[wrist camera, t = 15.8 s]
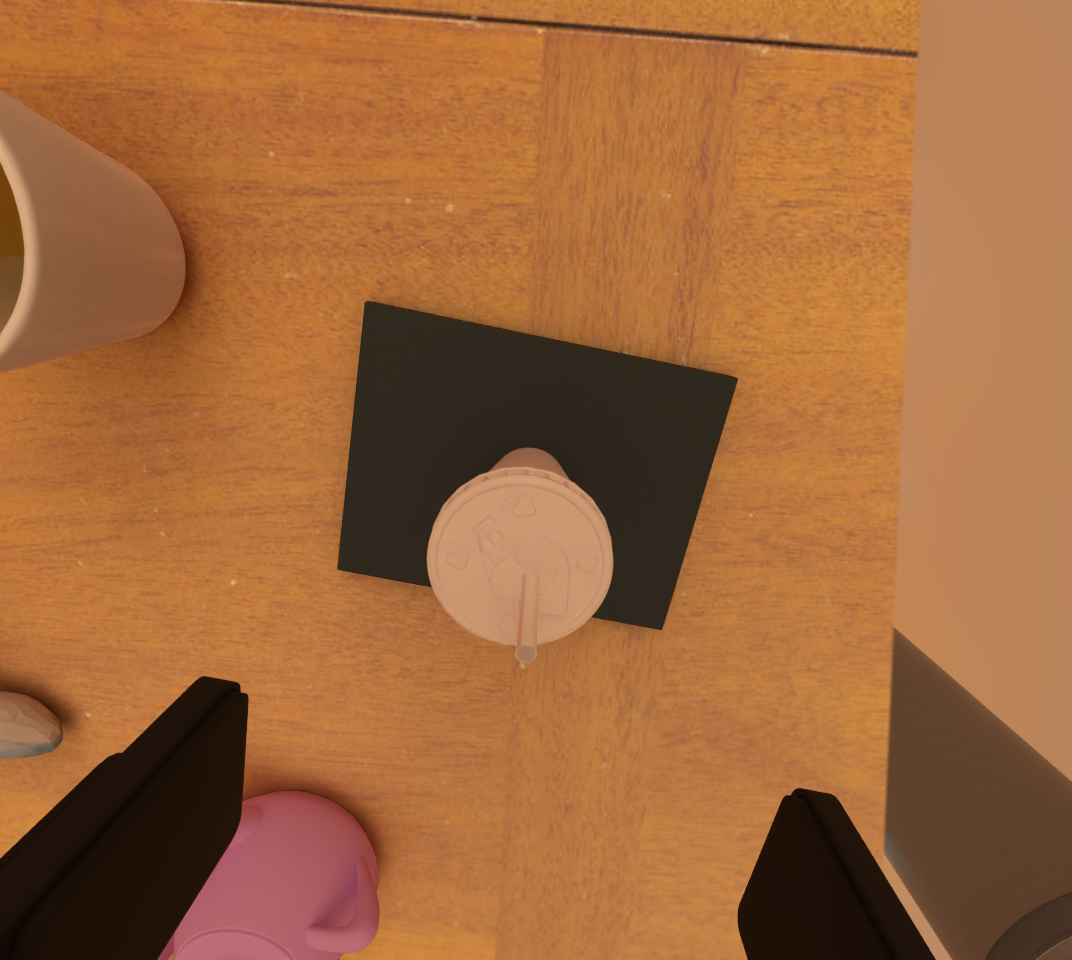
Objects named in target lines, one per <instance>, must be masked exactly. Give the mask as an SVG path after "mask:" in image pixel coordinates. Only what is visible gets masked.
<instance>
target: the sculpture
mask: <svg viewBox="0 0 1072 960" xmlns="http://www.w3.org/2000/svg"><path fill="white" fill-rule="evenodd" d="M62 740H63V733H62V728H61V724H60V721H59V720H58V718H57V717H56V716H55V715H54V714H53V713H52V712H51V711H50V710H49V709H47V708H46V707H45V706H44V705H43V704H42V703H40V702H39V701H37V700H35V699H34V698H32V697H30V696H27V695H23V694H18V693H13V692H5V691H0V758H7V759H18V758H26V757H31V756H37V755H41V754H44V753H48V752H52V751H53V750H54V749H55V748H56V747H57V746H58V745H59V744H60V743H61V741H62Z"/></svg>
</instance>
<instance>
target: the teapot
mask: <svg viewBox="0 0 1072 960" xmlns="http://www.w3.org/2000/svg"><path fill="white" fill-rule="evenodd" d="M377 887H378V864H377V859H376V856H375V852H374V850H373V848H372V845H371V843H370V841H369V839H368V837H367V835H366V833H365V832H364V830H363V829H362V827H361V826H360V824H359V823H358V822H357V820H356V819H355V818H354V817H353V816H352V815H351V814H350V813H349V812H348V811H347V810H345V809H344V808H343V807H341V806H340V805H338V804H337V803H335V802H333V801H331V800H329V799H327V798H324V797H322V796H319V795H316V794H312V793H307V792H301V791H278V792H272V793H268V794H263V795H259V796H256V797H253V798H250V799H247V800H245V801H242V814H241V820H240V823H239V826H238V829H237V832H236V834H235V836H234V838H233V840H232V842H231V843H230V845H229V846H228V848H227V850H226V851H225V853H224V854H223V856H222V858H221V859H220V861H219V862H218V864H217V866H216V867H215V869H214V870H213V872H212V874H211V875H210V877H209V878H208V880H207V882H206V883H205V885H204V886H203V888H202V889H201V891H200V893H199V894H198V896H197V897H196V899H195V901H194V902H193V904H192V905H191V907H190V909H189V910H188V912H187V913H186V915H185V917H184V918H183V920H182V921H181V923H180V925H179V926H178V928H177V929H176V931H175V933H174V934H173V936H172V937H171V939H170V940H169V942H168V944H167V945H166V947H165V948H164V950H163V952H162V953H161V955H160V956H159V958H158V960H168V958H169V957H170V956H171V955H172V954H173V952H174V956H175V960H340V959H341V956H342V955H343V954H344V953H353V952H358V951H361V950H363V949H364V948H366V947H367V946H368V945H369V944H370V943H371V942H372V941H373V939H374V937H375V935H376V932H377V929H378V924H379V901H378V897H377V893H376V891H377Z"/></svg>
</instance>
